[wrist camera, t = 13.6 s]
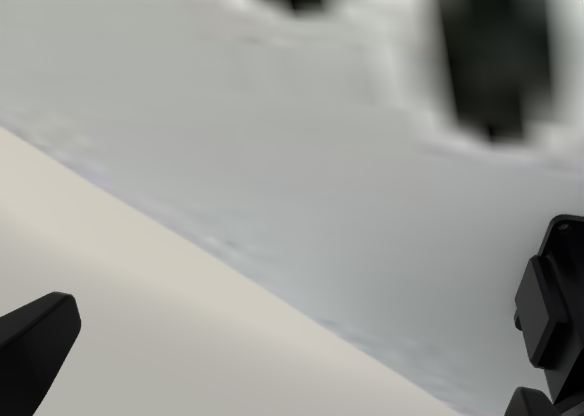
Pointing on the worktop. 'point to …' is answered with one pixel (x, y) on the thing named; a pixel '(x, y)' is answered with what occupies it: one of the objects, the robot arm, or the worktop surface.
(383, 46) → the worktop surface
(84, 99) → the worktop surface
